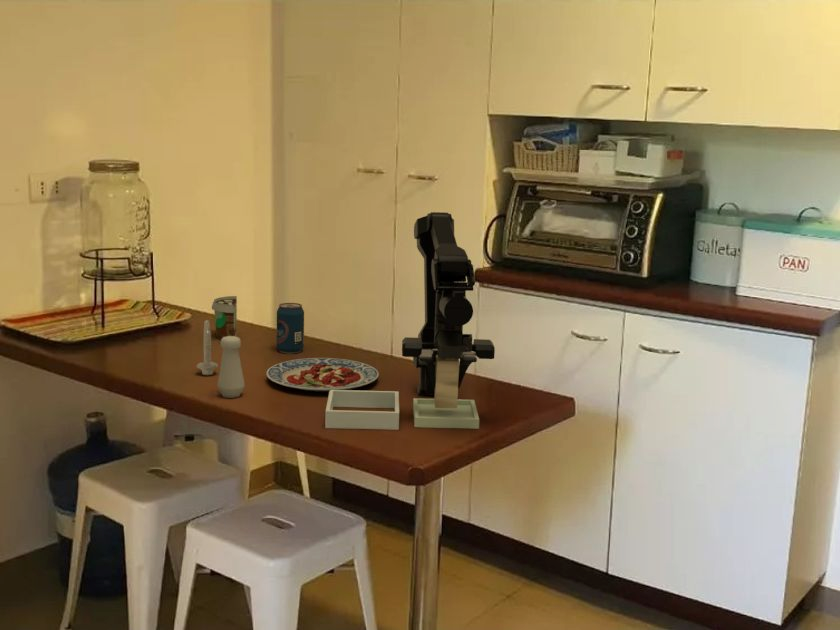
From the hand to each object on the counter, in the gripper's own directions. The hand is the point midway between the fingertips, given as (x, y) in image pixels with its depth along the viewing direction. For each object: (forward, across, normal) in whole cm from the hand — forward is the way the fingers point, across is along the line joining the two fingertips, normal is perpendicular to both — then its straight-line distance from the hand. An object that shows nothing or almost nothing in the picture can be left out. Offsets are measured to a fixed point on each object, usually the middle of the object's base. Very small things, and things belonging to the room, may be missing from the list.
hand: (446, 388), depth 208 cm
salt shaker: (+7, -46, +12) cm, 48 cm away
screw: (+7, -54, +28) cm, 61 cm away
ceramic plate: (+7, -27, +25) cm, 37 cm away
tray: (+6, 0, 0) cm, 6 cm away
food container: (+7, -56, +64) cm, 85 cm away
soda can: (+7, -37, +51) cm, 63 cm away
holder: (+6, -17, -1) cm, 18 cm away
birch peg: (+4, 0, 0) cm, 4 cm away
